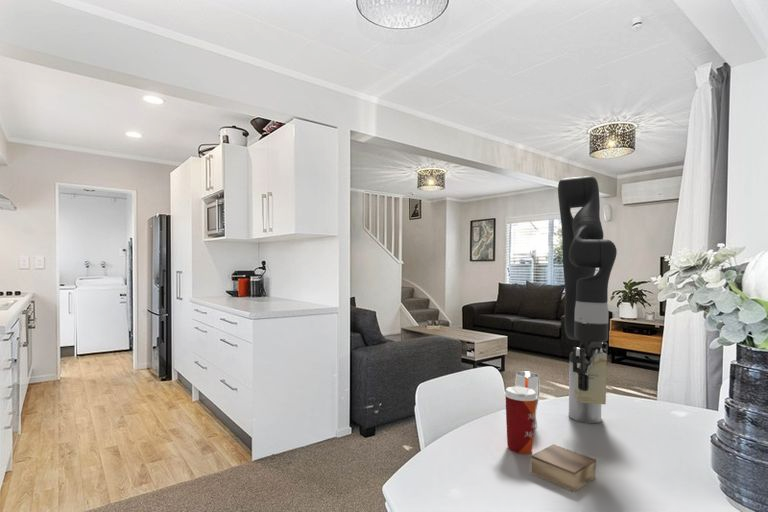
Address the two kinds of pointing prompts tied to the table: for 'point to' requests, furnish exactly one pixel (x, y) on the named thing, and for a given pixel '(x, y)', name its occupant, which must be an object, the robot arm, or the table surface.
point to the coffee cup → (520, 418)
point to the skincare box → (594, 382)
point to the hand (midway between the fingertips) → (590, 387)
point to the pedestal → (563, 467)
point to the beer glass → (529, 385)
